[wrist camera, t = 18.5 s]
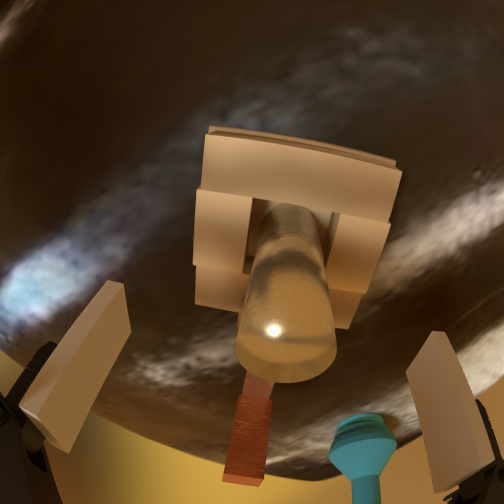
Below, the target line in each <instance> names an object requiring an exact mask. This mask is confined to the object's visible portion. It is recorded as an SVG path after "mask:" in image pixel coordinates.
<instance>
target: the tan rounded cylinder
mask: <svg viewBox="0 0 504 504" xmlns="http://www.w3.org/2000/svg"><path fill="white" fill-rule="evenodd" d="M336 352H337V343H336V336H335V329H334V322H333V315H332V308H331V302H330V295H329V289H328V283H327V277H326V271H325V266H324V260H323V255H322V249H321V244H320V239H319V233H318V228H317V223H316V220H315V217H314V216H313V214H312V213H311V212H310V211H309V210H308V209H307V208H306V207H304V206H299V205H293V204H288V203H281V204H278V205H276V206H274V207H273V208H271V209H270V210H269V211H268V212H267V214H266V215H265V217H264V219H263V222H262V227H261V231H260V236H259V240H258V245H257V249H256V254H255V258H254V263H253V267H252V271H251V276H250V280H249V285H248V289H247V294H246V298H245V303H244V307H243V312H242V316H241V320H240V325H239V329H238V334H237V338H236V343H235V353H236V356H237V358H238V360H239V362H240V363H241V365H242V366H243V367H244V368H245V369H246V370H247V371H249V372H250V373H252V374H253V375H255V376H257V377H259V378H262V379H264V380H268V381H272V382H278V383H295V382H301V381H305V380H308V379H311V378H314V377H316V376H318V375H319V374H321V373H322V372H324V371H325V370H326V369H327V368H328V367H329V366H330V365H331V364H332V362H333V361H334V359H335V356H336Z"/></svg>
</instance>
